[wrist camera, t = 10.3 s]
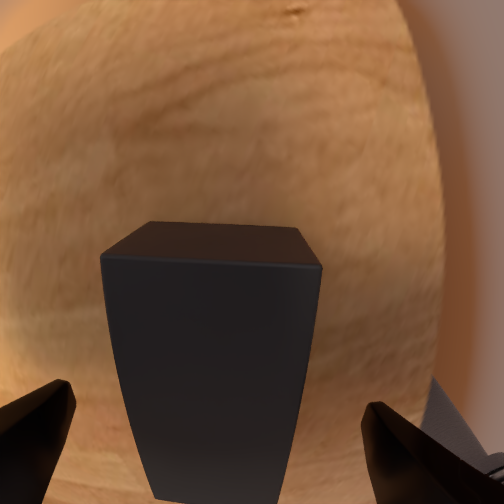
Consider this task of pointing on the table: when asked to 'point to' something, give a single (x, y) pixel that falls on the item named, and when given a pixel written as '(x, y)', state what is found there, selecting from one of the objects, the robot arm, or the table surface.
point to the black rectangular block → (212, 353)
